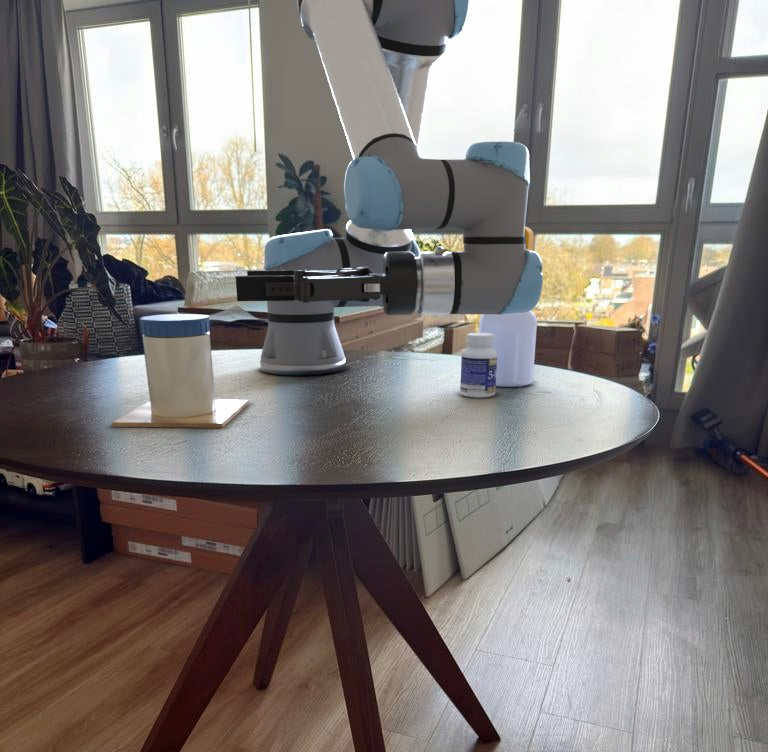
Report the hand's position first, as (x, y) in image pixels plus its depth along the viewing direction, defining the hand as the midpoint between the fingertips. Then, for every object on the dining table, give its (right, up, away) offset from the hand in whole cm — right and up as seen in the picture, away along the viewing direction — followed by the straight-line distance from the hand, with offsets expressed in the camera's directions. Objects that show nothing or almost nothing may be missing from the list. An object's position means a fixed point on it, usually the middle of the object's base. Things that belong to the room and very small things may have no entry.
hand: (242, 284), depth 88 cm
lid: (-9, -3, +4) cm, 11 cm away
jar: (-9, -14, +8) cm, 19 cm away
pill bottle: (+31, -10, +20) cm, 39 cm away
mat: (-9, -15, +9) cm, 19 cm away
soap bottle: (+37, -7, +29) cm, 48 cm away
